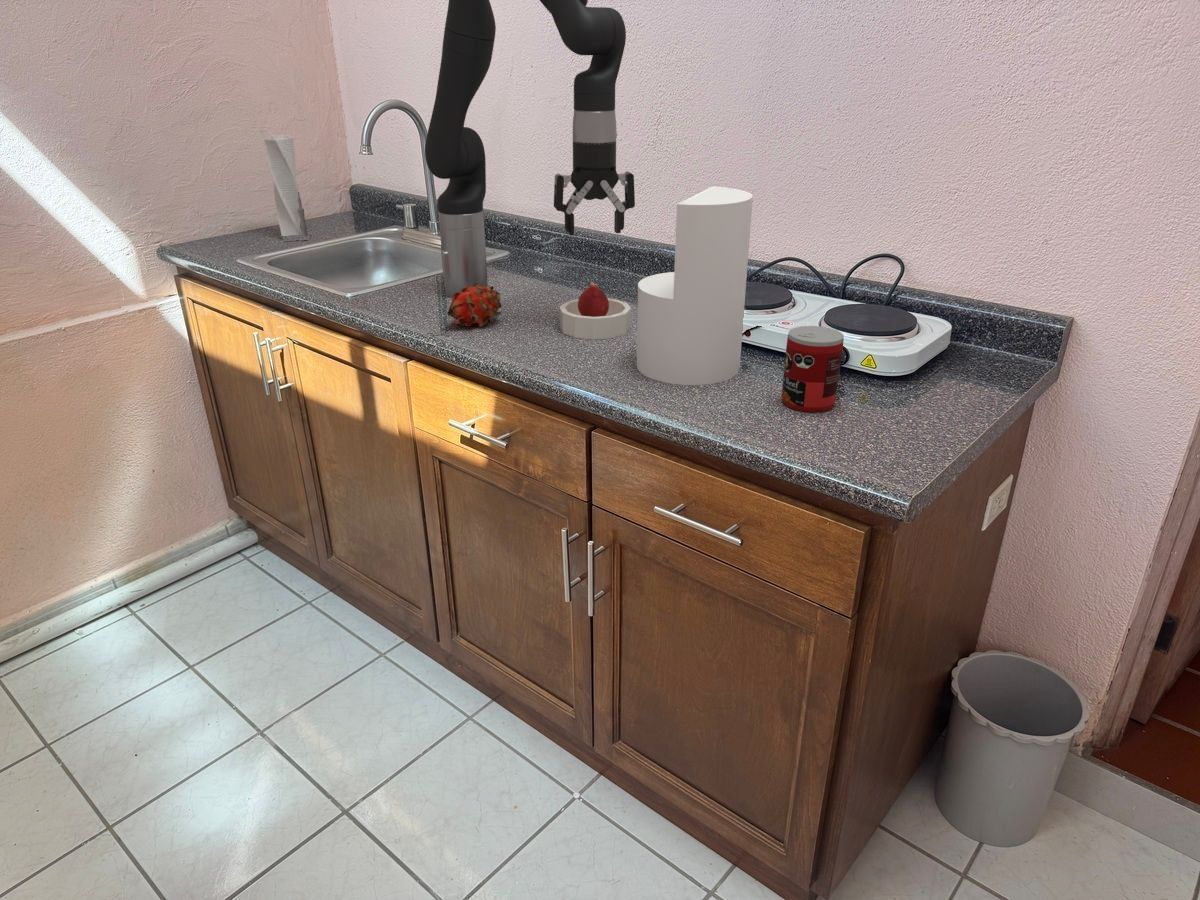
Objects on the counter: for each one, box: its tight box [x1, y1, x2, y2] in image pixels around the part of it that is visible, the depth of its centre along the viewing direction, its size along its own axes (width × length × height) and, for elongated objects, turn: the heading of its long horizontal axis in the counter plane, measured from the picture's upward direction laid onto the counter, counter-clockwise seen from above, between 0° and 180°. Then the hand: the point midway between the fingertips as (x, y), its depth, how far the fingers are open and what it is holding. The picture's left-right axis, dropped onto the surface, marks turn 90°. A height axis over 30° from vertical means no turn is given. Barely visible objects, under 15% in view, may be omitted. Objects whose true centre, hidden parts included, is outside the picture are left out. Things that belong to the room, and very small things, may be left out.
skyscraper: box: [259, 128, 309, 237], centre depth 224 cm, size 8×8×28 cm
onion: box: [578, 282, 609, 317], centre depth 158 cm, size 6×6×8 cm
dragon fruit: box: [447, 283, 503, 328], centre depth 160 cm, size 8×8×12 cm
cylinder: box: [636, 185, 754, 386], centre depth 135 cm, size 17×17×28 cm
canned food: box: [781, 325, 845, 413], centre depth 125 cm, size 8×8×11 cm
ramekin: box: [559, 298, 632, 341], centre depth 159 cm, size 13×13×4 cm
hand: (594, 233), depth 152 cm, fingers open, 8 cm apart
